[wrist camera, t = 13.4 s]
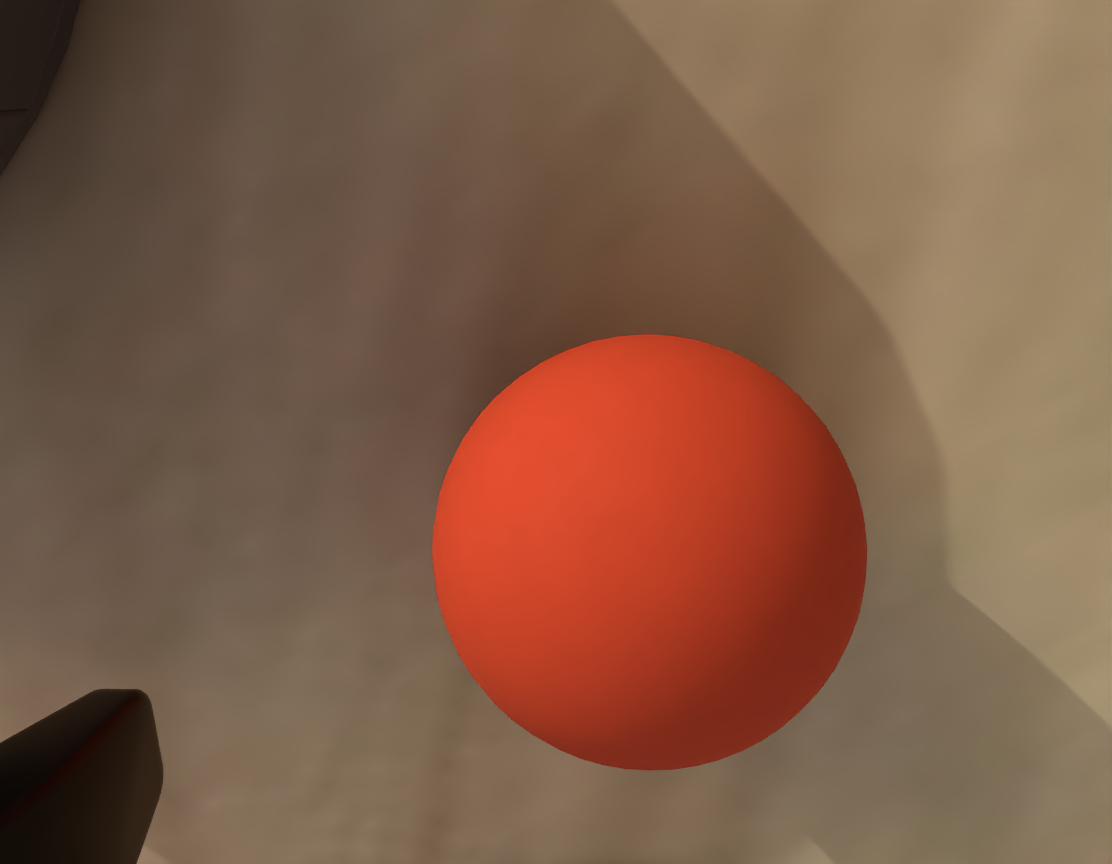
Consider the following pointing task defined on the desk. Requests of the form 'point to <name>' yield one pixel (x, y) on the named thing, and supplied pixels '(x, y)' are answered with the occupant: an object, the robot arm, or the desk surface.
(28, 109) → the black round open container
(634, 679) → the ball
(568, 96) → the desk surface
